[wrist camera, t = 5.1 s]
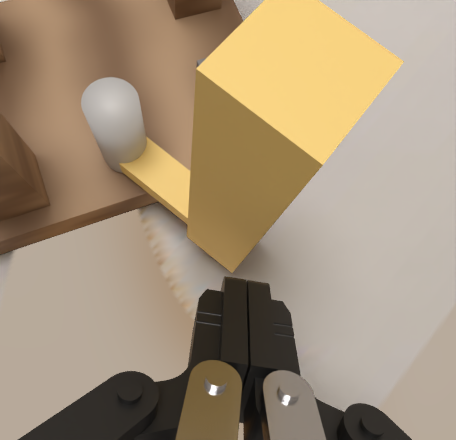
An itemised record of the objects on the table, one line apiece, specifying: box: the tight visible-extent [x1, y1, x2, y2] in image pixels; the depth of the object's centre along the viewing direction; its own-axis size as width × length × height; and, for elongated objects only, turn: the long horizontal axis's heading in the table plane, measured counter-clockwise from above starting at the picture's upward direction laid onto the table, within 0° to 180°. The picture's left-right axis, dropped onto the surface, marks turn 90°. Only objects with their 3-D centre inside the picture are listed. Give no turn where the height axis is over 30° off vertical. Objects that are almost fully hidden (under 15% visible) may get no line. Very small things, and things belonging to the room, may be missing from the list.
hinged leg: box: [81, 0, 404, 273], centre depth 15 cm, size 10×3×14 cm, turn 52°
